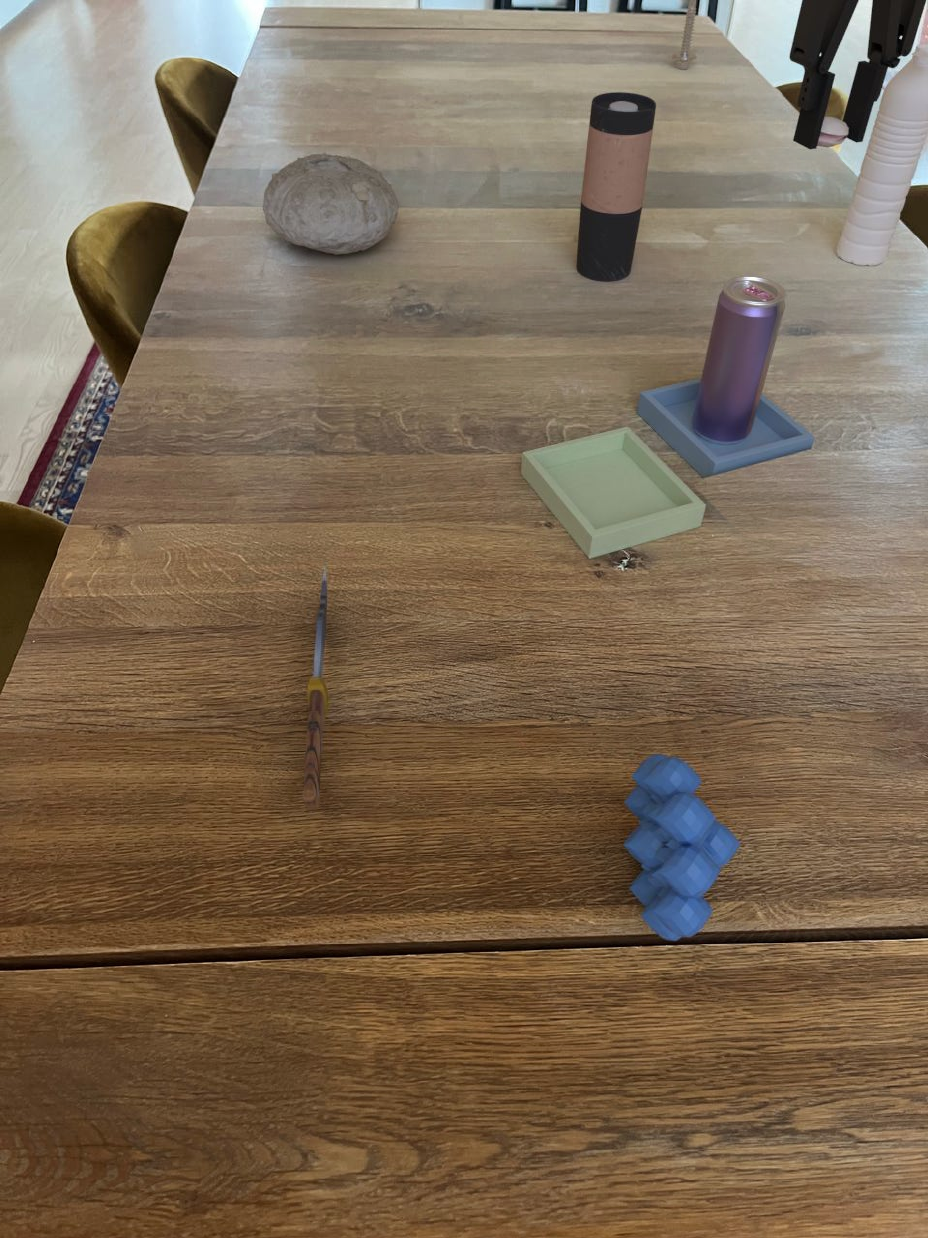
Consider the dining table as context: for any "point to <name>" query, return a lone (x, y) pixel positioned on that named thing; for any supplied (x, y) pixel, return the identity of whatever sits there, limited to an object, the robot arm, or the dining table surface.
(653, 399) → the tray
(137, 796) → the dining table surface
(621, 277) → the travel mug
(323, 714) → the knife
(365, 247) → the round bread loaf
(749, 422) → the beverage can
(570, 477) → the snack tray
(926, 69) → the water bottle
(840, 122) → the macaroon
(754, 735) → the dining table surface
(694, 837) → the grapes
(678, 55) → the screw
